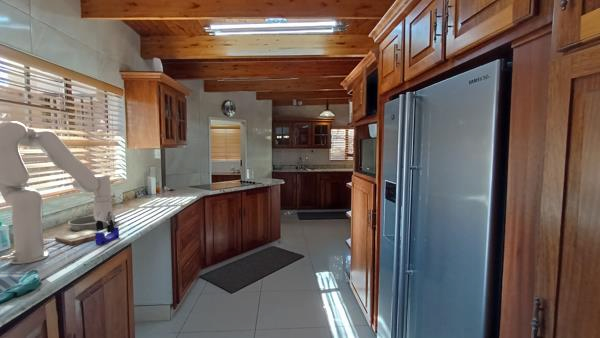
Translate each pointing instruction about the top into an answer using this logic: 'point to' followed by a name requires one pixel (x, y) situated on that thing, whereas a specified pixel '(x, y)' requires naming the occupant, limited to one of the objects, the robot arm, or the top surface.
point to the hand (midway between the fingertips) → (105, 230)
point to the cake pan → (85, 223)
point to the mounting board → (77, 237)
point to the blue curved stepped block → (109, 237)
